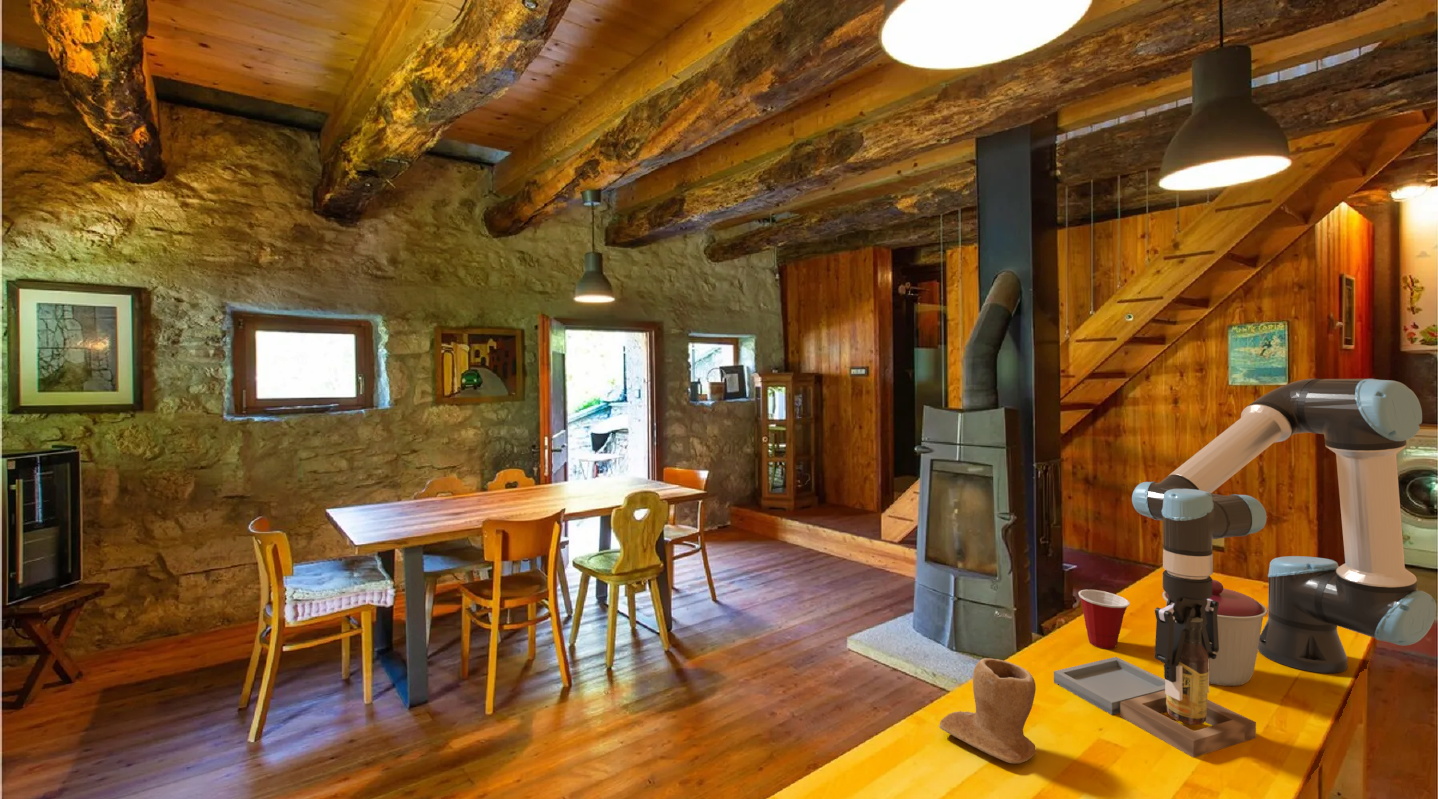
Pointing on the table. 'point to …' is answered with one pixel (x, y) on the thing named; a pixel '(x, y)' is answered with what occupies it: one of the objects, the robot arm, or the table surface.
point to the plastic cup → (1103, 617)
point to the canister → (1234, 636)
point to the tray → (1108, 682)
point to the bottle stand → (1194, 743)
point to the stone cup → (997, 711)
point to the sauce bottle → (1192, 679)
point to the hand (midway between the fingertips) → (1187, 692)
